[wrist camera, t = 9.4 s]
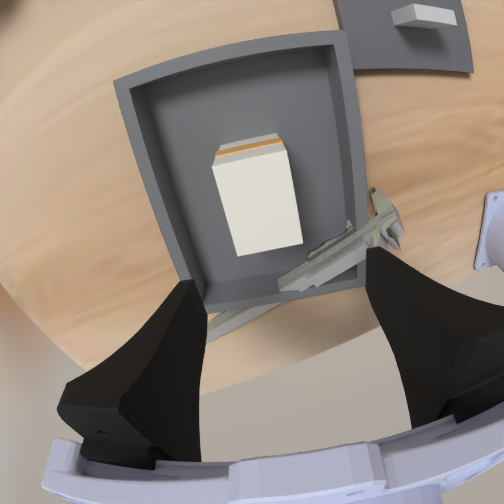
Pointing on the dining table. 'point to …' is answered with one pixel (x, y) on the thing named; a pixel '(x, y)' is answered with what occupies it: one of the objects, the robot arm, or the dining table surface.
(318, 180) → the tray
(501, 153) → the dining table surface
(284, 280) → the caliper
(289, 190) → the white block
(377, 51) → the board
